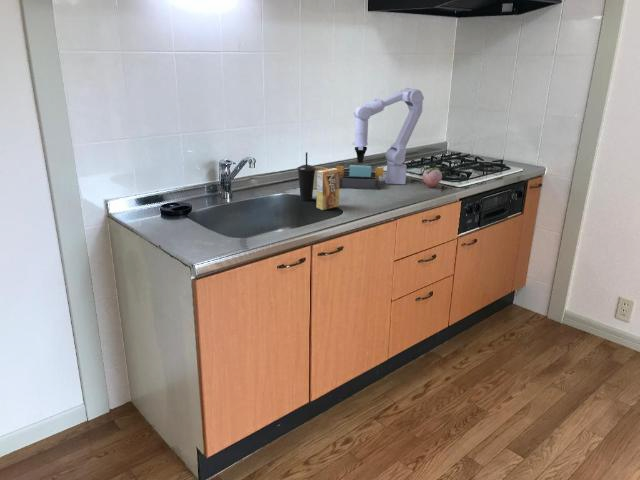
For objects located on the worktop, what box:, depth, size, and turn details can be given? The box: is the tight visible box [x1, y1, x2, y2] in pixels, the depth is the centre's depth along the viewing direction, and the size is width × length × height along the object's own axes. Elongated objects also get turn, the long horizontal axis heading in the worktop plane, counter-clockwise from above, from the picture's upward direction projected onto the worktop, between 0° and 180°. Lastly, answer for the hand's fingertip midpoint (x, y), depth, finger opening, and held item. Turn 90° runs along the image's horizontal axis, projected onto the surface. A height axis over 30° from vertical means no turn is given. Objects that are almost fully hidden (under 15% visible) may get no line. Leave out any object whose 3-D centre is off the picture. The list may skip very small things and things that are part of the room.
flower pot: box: [313, 166, 328, 190], centre depth 237 cm, size 9×9×9 cm
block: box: [348, 164, 372, 177], centre depth 243 cm, size 10×2×8 cm, turn 85°
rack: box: [335, 165, 384, 191], centre depth 243 cm, size 22×15×8 cm
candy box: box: [316, 167, 340, 211], centre depth 207 cm, size 9×4×15 cm, turn 129°
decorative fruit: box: [422, 166, 443, 188], centre depth 241 cm, size 9×8×10 cm
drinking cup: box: [296, 151, 316, 202], centre depth 217 cm, size 8×8×20 cm
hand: (360, 162), depth 242 cm, fingers closed
